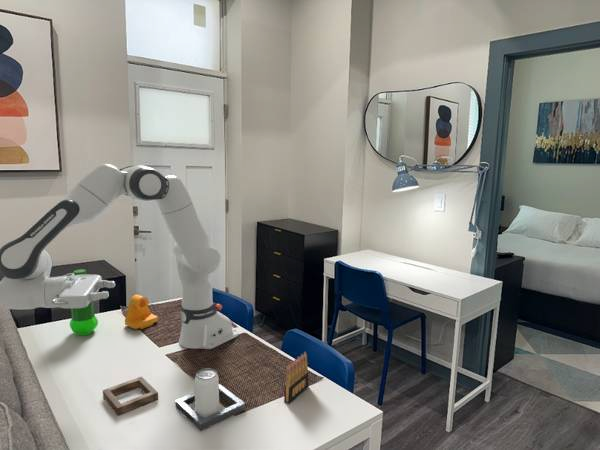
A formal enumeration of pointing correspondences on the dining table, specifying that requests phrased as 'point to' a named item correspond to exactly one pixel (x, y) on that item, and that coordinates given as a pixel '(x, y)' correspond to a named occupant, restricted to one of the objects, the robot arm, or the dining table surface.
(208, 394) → the can
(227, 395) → the dark grey square frame
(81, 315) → the plastic bottle
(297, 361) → the ammunition clip
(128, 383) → the wooden square frame
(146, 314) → the orange figurine
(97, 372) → the dining table surface
